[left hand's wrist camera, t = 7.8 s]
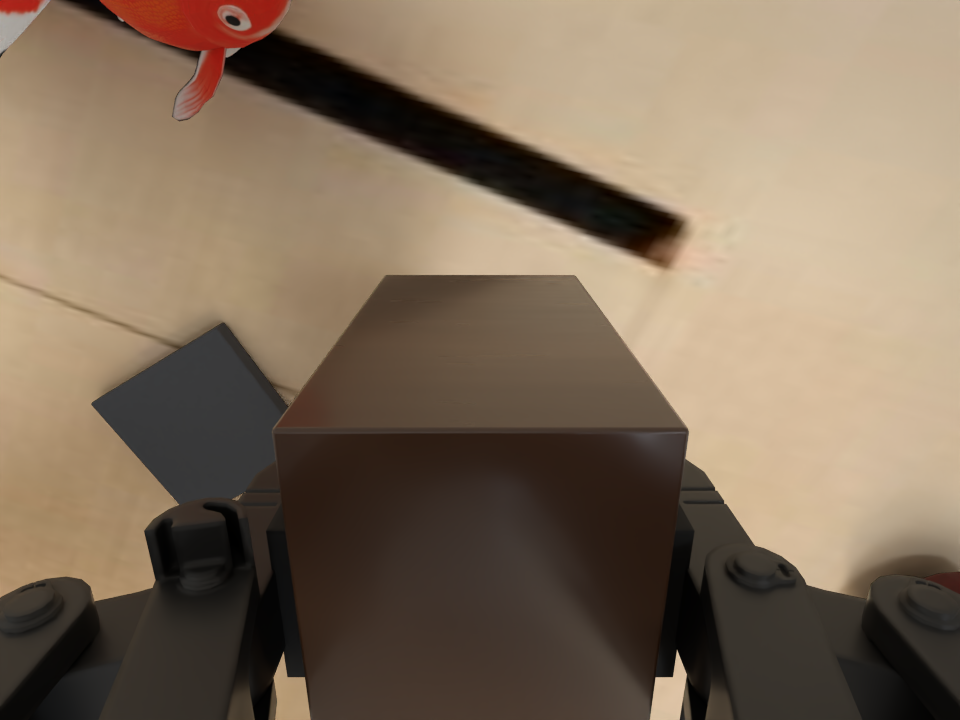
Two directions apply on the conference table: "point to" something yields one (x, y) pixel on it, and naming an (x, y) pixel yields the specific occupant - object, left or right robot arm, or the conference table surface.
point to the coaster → (198, 418)
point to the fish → (176, 33)
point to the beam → (480, 507)
